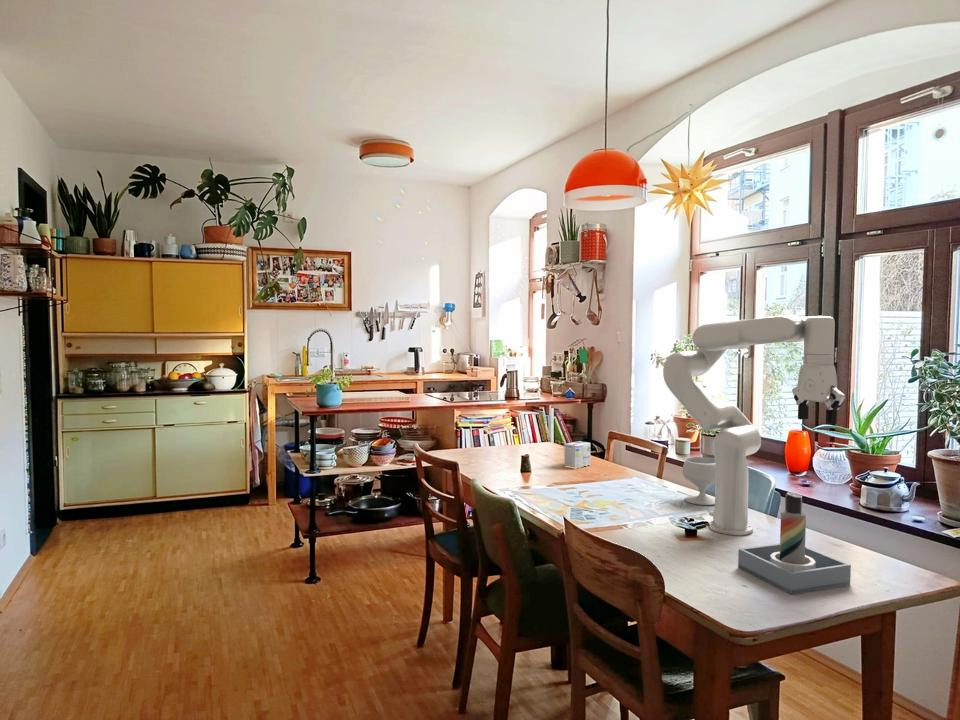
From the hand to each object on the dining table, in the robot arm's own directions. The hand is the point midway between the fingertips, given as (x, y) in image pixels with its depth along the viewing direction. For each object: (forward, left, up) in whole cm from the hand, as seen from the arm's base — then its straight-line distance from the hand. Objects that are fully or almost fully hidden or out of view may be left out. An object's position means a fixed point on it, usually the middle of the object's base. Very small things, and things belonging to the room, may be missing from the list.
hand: (816, 421), depth 181 cm
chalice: (-52, +2, -36) cm, 63 cm away
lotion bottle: (+14, -21, -36) cm, 43 cm away
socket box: (+14, -21, -36) cm, 44 cm away
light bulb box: (-118, -14, -37) cm, 124 cm away
